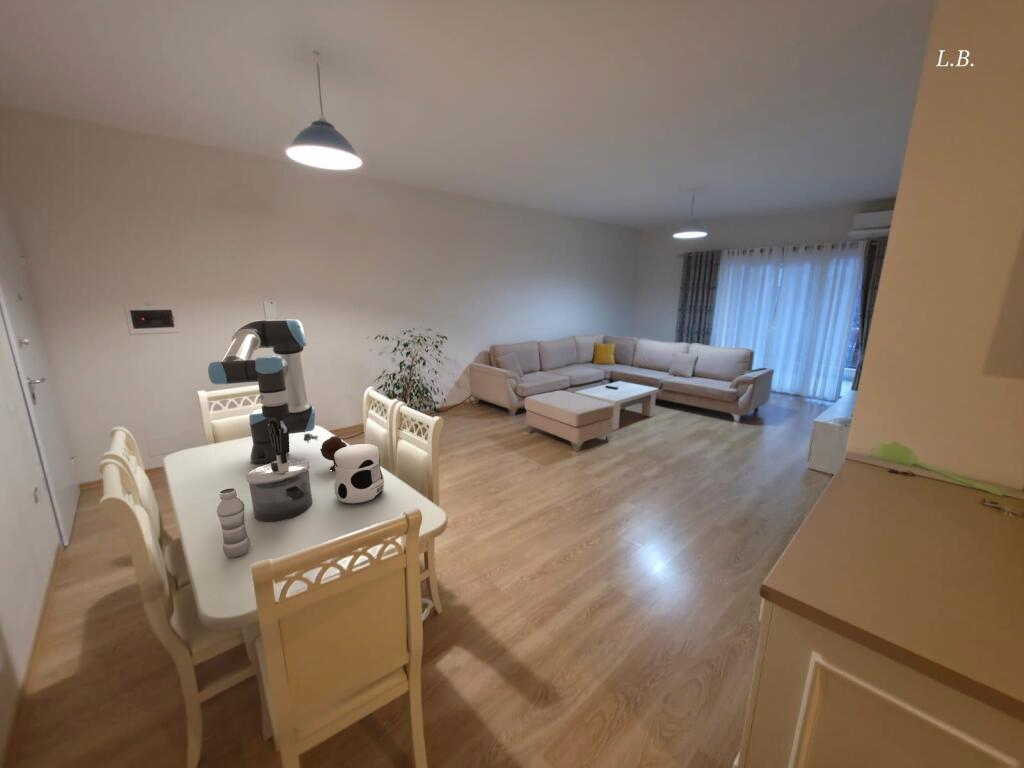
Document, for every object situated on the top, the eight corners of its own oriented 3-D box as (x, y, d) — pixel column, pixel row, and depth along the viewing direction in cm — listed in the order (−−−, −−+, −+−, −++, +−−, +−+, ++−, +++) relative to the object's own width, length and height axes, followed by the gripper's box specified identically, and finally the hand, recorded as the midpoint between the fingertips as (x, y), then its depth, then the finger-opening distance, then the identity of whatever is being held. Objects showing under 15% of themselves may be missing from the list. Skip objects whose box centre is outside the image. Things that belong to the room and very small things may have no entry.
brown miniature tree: (354, 463, 179) (351, 431, 176) (341, 474, 169) (337, 440, 165) (331, 462, 180) (328, 431, 177) (317, 473, 170) (313, 440, 166)
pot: (246, 509, 141) (241, 478, 139) (299, 490, 155) (295, 461, 152) (272, 535, 126) (267, 500, 124) (329, 512, 140) (325, 480, 137)
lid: (237, 476, 139) (235, 465, 139) (295, 459, 153) (293, 449, 153) (258, 488, 126) (255, 476, 126) (318, 469, 140) (317, 458, 140)
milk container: (335, 490, 155) (331, 446, 151) (382, 482, 162) (379, 440, 158) (335, 512, 139) (330, 464, 135) (387, 502, 146) (384, 456, 142)
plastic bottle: (232, 547, 120) (221, 486, 116) (256, 546, 121) (246, 485, 116) (219, 561, 114) (207, 497, 110) (244, 560, 115) (233, 496, 110)
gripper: (254, 402, 132) (264, 469, 137) (269, 409, 124) (279, 480, 129) (279, 398, 138) (287, 462, 142) (295, 404, 129) (303, 472, 134)
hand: (283, 471), depth 135 cm, fingers closed
